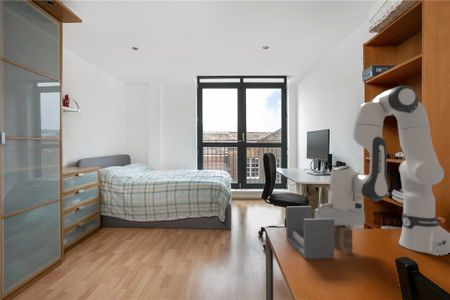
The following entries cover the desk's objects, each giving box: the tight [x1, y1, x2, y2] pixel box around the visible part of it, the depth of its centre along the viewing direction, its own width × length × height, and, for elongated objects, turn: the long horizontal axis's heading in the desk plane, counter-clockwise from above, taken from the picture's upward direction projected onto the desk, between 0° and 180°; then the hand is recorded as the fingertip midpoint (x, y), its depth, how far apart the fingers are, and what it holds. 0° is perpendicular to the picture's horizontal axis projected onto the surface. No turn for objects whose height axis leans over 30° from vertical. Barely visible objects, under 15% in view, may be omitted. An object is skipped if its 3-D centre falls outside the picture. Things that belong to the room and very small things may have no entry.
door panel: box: [334, 225, 353, 255], centre depth 108 cm, size 12×3×10 cm, turn 5°
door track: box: [285, 205, 335, 260], centre depth 109 cm, size 22×12×16 cm, turn 5°
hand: (340, 235), depth 108 cm, fingers open, 5 cm apart
